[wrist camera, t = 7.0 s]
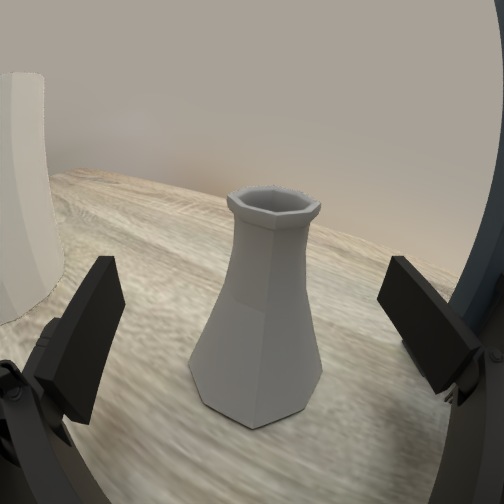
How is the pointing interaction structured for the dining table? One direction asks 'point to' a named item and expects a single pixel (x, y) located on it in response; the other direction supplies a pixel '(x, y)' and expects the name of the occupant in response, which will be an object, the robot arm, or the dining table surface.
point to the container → (25, 199)
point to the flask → (262, 313)
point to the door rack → (486, 256)
